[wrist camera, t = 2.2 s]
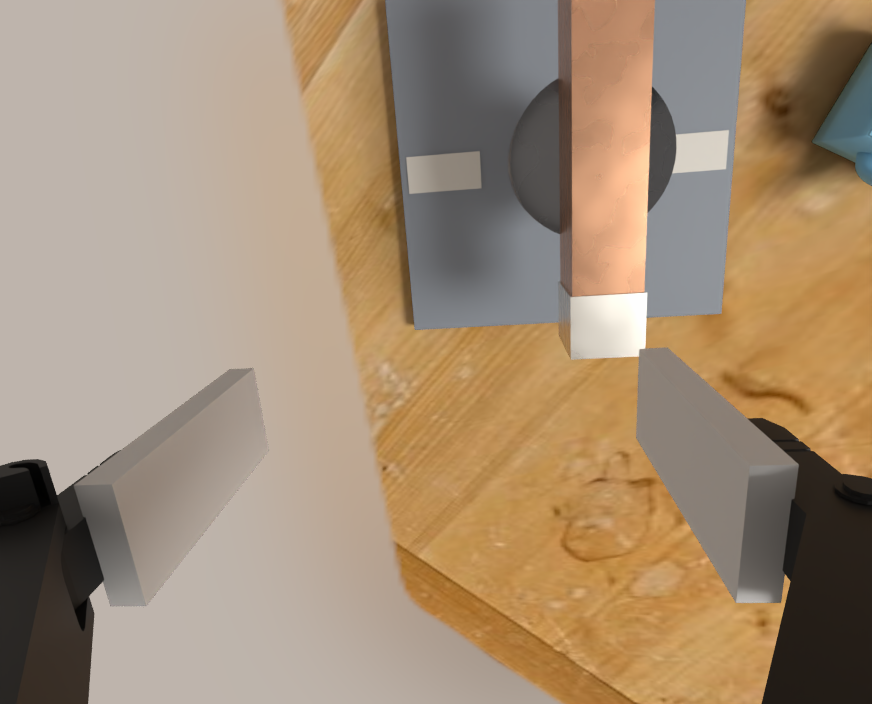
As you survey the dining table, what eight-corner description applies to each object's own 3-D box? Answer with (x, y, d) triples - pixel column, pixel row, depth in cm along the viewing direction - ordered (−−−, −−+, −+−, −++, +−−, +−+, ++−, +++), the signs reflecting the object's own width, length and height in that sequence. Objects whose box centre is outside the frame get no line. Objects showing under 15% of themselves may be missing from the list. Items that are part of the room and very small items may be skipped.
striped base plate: (388, 1, 36) (361, -51, 28) (738, -38, 34) (818, -107, 26) (416, 324, 42) (401, 358, 34) (712, 308, 40) (770, 340, 32)
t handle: (501, -24, 28) (507, -90, 21) (665, -43, 27) (727, -118, 20) (513, 324, 33) (521, 361, 26) (650, 317, 32) (696, 353, 25)
